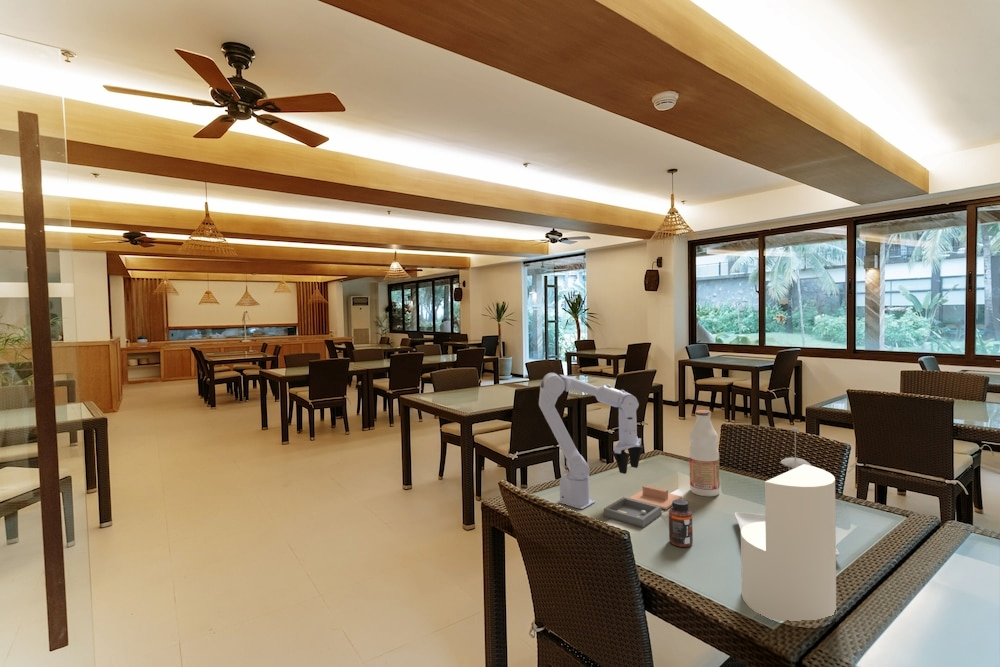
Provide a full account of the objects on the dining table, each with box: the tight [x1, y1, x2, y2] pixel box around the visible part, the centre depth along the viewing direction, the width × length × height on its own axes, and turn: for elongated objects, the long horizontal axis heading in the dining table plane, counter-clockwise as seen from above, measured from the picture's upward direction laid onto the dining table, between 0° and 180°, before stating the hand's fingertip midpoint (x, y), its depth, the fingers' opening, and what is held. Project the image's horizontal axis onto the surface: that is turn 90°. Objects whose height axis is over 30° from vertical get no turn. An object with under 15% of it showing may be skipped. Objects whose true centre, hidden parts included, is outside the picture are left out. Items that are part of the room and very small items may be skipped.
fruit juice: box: [688, 409, 721, 497], centre depth 167 cm, size 9×9×28 cm
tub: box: [603, 496, 662, 529], centre depth 150 cm, size 13×12×2 cm
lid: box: [628, 484, 683, 510], centre depth 161 cm, size 13×12×4 cm
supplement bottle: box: [668, 499, 694, 548], centre depth 131 cm, size 6×6×11 cm
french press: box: [780, 426, 812, 471], centre depth 153 cm, size 10×12×25 cm
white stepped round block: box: [740, 464, 837, 621], centre depth 103 cm, size 17×17×28 cm
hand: (628, 470), depth 161 cm, fingers open, 7 cm apart
